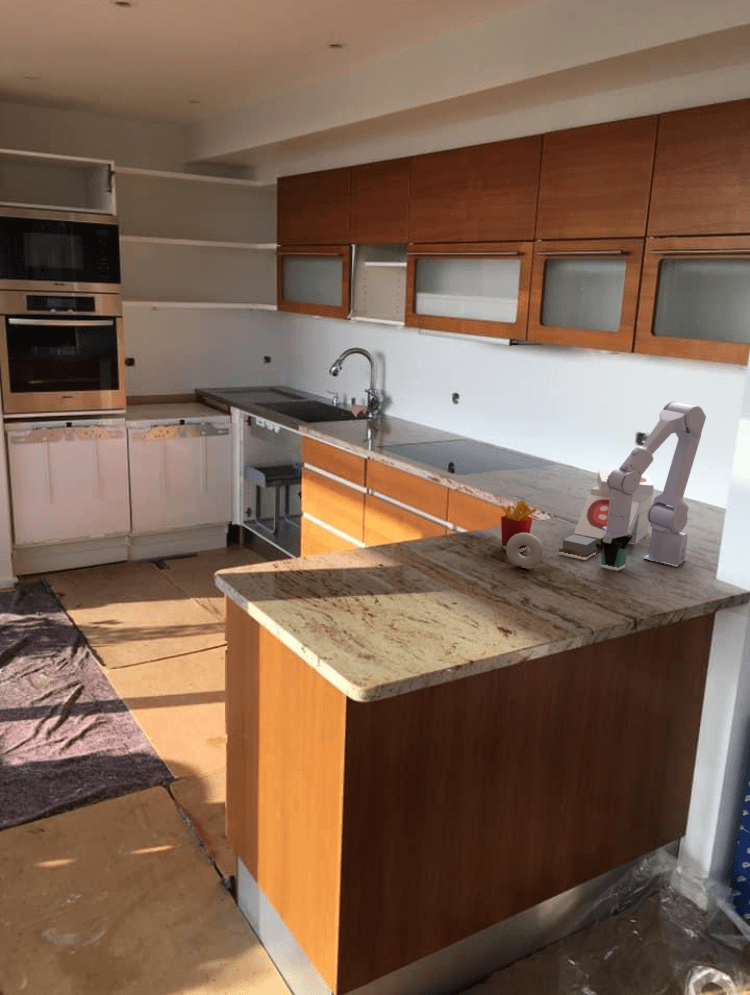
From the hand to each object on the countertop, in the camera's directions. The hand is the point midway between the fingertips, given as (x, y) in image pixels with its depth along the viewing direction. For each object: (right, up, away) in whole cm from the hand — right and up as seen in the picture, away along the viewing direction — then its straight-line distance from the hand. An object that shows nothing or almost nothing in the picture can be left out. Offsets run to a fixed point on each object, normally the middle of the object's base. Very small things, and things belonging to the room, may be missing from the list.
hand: (613, 562), depth 228 cm
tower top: (-7, +3, +10) cm, 13 cm away
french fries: (-24, +2, +11) cm, 27 cm away
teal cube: (0, -1, 0) cm, 1 cm away
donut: (-25, -2, -4) cm, 26 cm away
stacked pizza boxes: (+7, +5, +26) cm, 28 cm away
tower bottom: (-7, +1, +10) cm, 13 cm away
